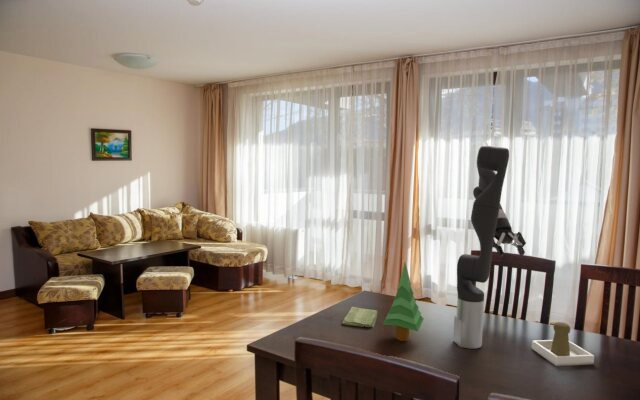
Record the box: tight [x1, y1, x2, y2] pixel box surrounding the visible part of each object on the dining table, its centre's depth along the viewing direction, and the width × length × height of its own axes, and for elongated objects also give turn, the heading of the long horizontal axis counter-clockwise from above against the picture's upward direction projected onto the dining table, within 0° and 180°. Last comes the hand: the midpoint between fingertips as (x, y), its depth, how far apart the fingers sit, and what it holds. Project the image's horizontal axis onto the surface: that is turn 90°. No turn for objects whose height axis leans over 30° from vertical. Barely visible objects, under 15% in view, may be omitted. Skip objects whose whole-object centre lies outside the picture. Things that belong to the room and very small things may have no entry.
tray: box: [531, 339, 595, 367], centre depth 154 cm, size 14×14×3 cm
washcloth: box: [341, 306, 378, 328], centre depth 186 cm, size 13×18×3 cm
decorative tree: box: [382, 262, 424, 342], centre depth 166 cm, size 14×16×30 cm
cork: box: [551, 321, 571, 356], centre depth 154 cm, size 6×6×11 cm
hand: (512, 255), depth 174 cm, fingers open, 8 cm apart
